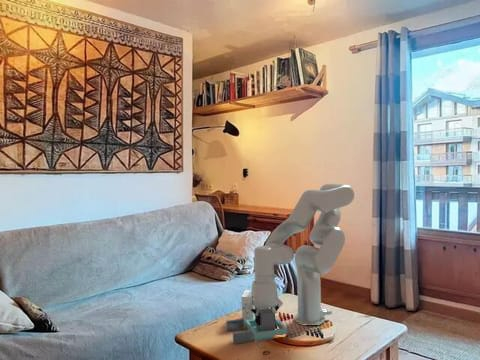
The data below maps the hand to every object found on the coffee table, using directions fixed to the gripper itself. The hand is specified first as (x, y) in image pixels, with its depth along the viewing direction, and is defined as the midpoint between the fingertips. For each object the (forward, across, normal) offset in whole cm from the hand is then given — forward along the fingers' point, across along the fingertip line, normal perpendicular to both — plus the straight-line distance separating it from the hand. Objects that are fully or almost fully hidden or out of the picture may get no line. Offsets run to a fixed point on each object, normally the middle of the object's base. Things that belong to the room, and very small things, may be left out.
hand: (265, 323), depth 154 cm
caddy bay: (+4, +11, 0) cm, 11 cm away
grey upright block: (+3, 0, 0) cm, 3 cm away
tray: (+4, 0, 0) cm, 4 cm away
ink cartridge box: (+4, +3, -13) cm, 14 cm away
